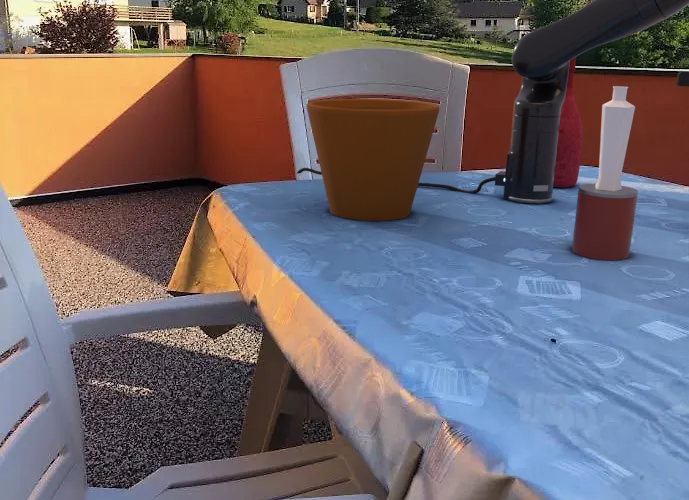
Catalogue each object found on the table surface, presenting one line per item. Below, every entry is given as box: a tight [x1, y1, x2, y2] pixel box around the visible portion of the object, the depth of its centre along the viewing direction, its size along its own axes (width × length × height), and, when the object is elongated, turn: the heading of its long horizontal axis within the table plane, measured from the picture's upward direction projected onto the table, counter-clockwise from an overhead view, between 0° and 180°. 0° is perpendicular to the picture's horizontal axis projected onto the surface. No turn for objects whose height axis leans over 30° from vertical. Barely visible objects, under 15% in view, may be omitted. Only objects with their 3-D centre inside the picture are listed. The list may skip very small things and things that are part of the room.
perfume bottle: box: [595, 85, 636, 191], centre depth 105 cm, size 5×4×15 cm
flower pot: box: [306, 98, 440, 222], centre depth 130 cm, size 24×24×20 cm
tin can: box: [571, 183, 639, 261], centre depth 108 cm, size 8×8×10 cm
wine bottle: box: [553, 57, 584, 189], centre depth 159 cm, size 10×10×30 cm
